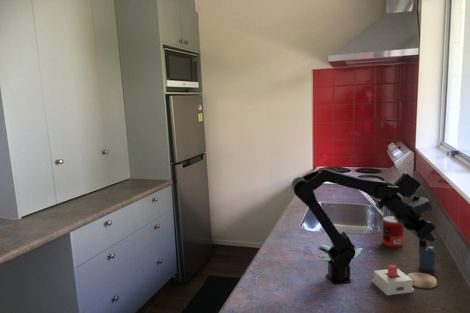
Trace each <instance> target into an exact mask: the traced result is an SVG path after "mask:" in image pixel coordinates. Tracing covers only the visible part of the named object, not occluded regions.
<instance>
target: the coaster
mask: <svg viewBox="0 0 470 313" xmlns="http://www.w3.org/2000/svg"><path fill="white" fill-rule="evenodd" d="M406 275H407V276H408V277H409V278H411V279H412V287H417V288H420V289H421V288H422V289H433V288H436V287H437V285H438V280H437V279H436V278H435V277H434V276H432V275H431V274H428V273H424V272H420V271H419V272H410V273H408V274H406Z"/></svg>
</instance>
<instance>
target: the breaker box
mask: <svg viewBox="0 0 470 313" xmlns="http://www.w3.org/2000/svg"><path fill="white" fill-rule="evenodd" d="M407 275H408V274H406V273H404V272H403V271H401V269H399V268H398V267H397V278H389V277H388V268H387V269H378V270H373V278H372V280H371V282H372V283H373V284H374V285H375V286H376V287H378V288H379V290H381V291H382V292H383V293H384V295H386V296H392V295H401V294H409V293H410V294H411V293H414V292H415V290H414V289H415V288H413V285H412V279H411V278H409V277H408V276H407Z"/></svg>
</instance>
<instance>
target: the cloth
mask: <svg viewBox="0 0 470 313" xmlns="http://www.w3.org/2000/svg"><path fill="white" fill-rule="evenodd" d="M330 248H331V246H329V245H325V244H321V245H319V249H321V250H323V249H324V250H323V251H325V250H326V252H327V251H328V250H329V249H330ZM362 251H363V247H357V248H356V249H355V252H356V253H355V256H354V258H353V259H355V258H357V256H358V255H360V254H361V253H362ZM321 255H322V256H320V255H319V256H320V257H319V258H321V259H320V260H321V261H322V260H323V261H322V262H328V261H330V260H331V259H330V258H329V256H328V253H326V254H321Z"/></svg>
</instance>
